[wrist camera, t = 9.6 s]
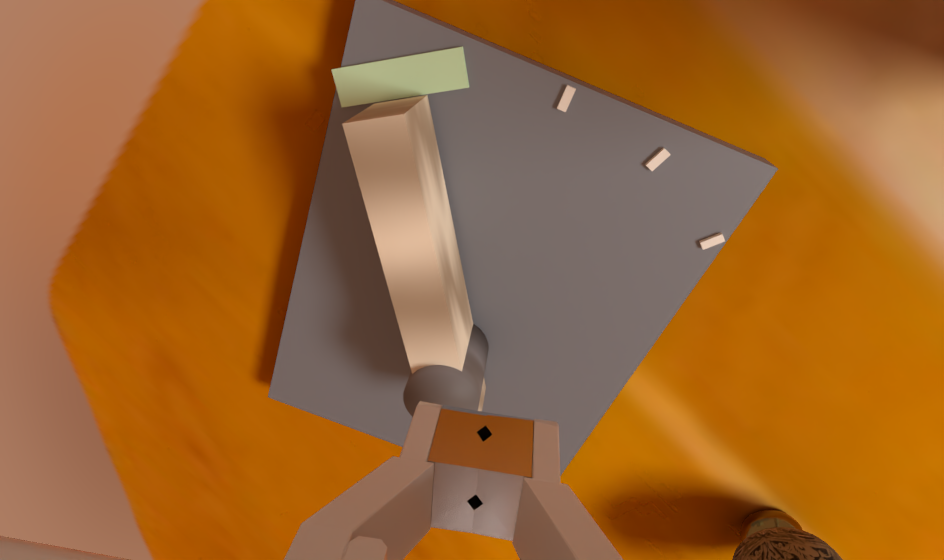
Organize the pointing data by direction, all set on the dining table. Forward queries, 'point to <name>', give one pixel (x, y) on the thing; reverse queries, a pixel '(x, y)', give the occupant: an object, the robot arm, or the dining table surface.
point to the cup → (779, 539)
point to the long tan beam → (419, 251)
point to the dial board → (508, 231)
